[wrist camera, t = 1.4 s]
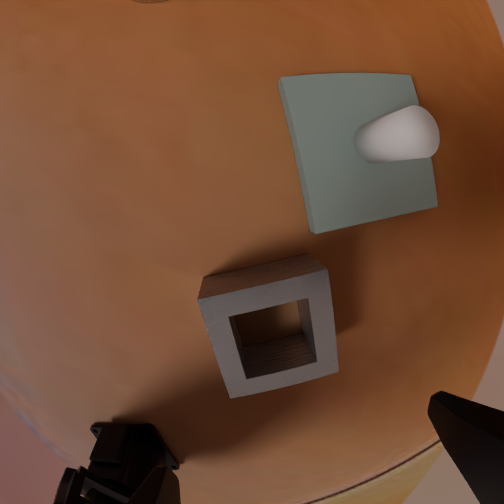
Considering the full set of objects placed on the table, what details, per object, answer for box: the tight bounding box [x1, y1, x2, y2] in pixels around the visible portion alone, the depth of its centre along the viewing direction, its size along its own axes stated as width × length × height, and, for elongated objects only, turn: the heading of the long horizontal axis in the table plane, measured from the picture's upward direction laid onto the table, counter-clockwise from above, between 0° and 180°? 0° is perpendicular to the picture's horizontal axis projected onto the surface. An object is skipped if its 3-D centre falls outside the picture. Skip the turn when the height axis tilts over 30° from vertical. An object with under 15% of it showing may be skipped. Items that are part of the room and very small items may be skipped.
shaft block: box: [278, 73, 440, 234], centre depth 13 cm, size 9×9×6 cm
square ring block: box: [198, 253, 339, 399], centre depth 16 cm, size 6×6×4 cm
